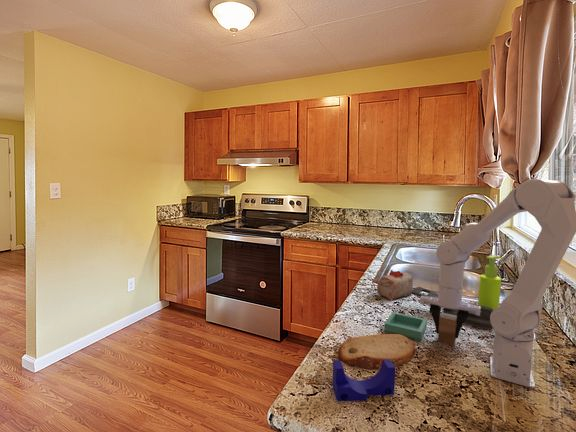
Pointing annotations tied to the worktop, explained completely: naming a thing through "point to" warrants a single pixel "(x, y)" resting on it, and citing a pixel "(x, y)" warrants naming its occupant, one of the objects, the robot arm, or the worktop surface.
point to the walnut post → (447, 329)
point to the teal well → (406, 326)
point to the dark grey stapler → (472, 319)
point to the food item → (395, 285)
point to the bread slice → (376, 350)
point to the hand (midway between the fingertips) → (447, 334)
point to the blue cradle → (363, 383)
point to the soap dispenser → (490, 285)
